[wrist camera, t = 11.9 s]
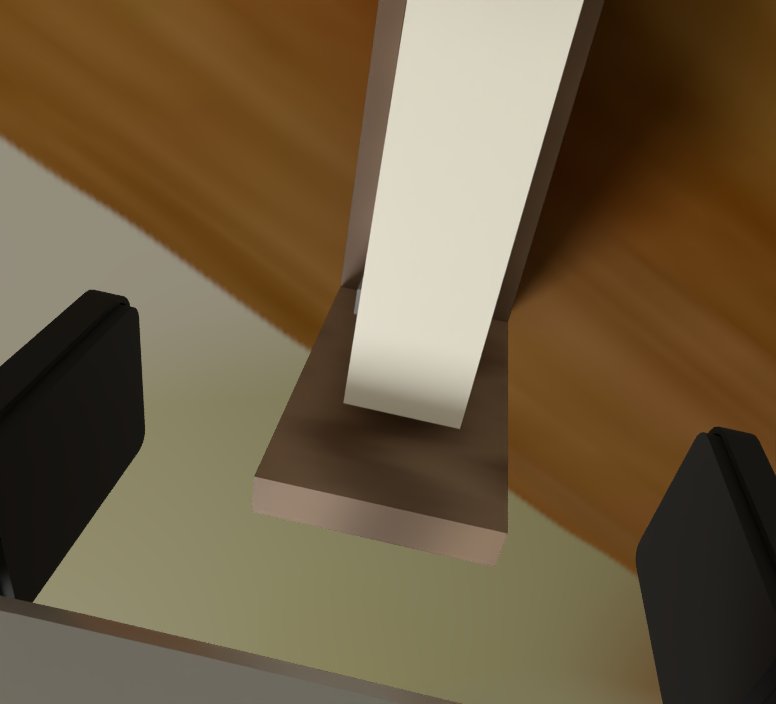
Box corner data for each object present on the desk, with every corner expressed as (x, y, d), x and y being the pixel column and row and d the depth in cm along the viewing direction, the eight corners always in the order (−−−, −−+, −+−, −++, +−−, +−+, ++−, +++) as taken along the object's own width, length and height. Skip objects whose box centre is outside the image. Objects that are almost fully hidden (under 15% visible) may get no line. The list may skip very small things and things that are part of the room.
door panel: (562, -64, 25) (598, -52, 15) (474, 272, 33) (459, 428, 23) (445, -87, 25) (403, -90, 15) (385, 253, 33) (331, 400, 23)
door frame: (636, -146, 24) (794, -227, 11) (500, 319, 35) (494, 567, 22) (416, -187, 24) (305, -314, 11) (348, 287, 35) (251, 511, 22)
